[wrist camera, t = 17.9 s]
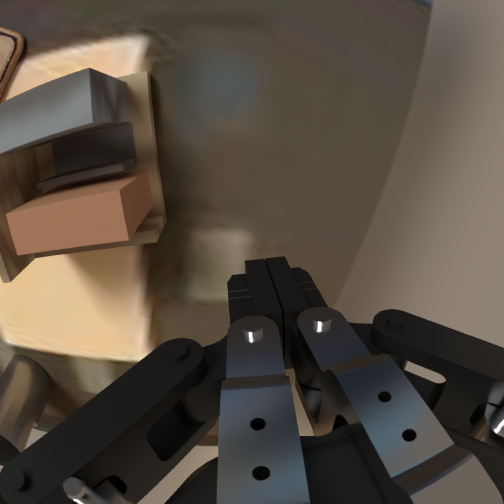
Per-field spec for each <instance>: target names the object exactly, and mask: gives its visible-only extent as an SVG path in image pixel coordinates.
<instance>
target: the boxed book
mask: <svg viewBox="0 0 504 504" xmlns="http://www.w3.org/2000/svg"><path fill="white" fill-rule="evenodd" d="M152 207H153V201H152V194H151V187H150V181H149V173H148V170H144V171H137V172H131V173H126V174H120V175H114V176H109V177H104V178H99V179H94V180H89V181H84V182H79V183H75V184H70V185H66V186H61V187H57V188H54V189H52V190H50V191H48V192H46V193H44V194H42V195H40V196H38V197H36V198H34V199H32V200H31V201H29V202H27V203H25V204H23V205H21V206H20V207H18V208H16V209H14V210H13V211H11V212H9V213H7V214H6V217H7V221H8V225H9V228H10V232H11V235H12V239H13V242H14V246H15V249H16V252H17V255H24V254H31V253H38V252H44V251H51V250H58V249H66V248H73V247H80V246H88V245H95V244H103V243H111V242H119V241H127V240H129V239H130V238H131V237H132V235H133V234H134V232H135V231H136V229H137V228H138V227H139V225H140V224H141V222H142V221H143V219H144V218H145V217H146V215H147V214H148V213H149V211H150V210H151V208H152Z"/></svg>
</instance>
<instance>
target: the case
mask: <svg viewBox="0 0 504 504" xmlns="http://www.w3.org/2000/svg"><path fill="white" fill-rule="evenodd" d="M23 49H24V38H23V36H22V35H21V34H20V33H18V32H16V31H13V30H10V29H7V28H3V27H0V98H1V96H2V93H3V91H4V89H5V86H6V84H7V82H8V80H9V78H10V76H11V74H12V71H13V70H14V68H15V66H16V64H17V62H18V60H19V58H20V56H21V54H22V52H23Z"/></svg>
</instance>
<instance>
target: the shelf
mask: <svg viewBox="0 0 504 504" xmlns="http://www.w3.org/2000/svg"><path fill="white" fill-rule="evenodd" d="M144 170H148V173H149V181H150V187H151V194H152V201H153V207H152V208H151V210H150V211H149V213H148V214H147V215H146V217H145V218H144V219H143V221H142V222H141V224H140V225H139V227H138V228H137V229H136V231H135V232H134V234H133V235H132V237H131V238H130V239H129V240H127V241H119V242H111V243H103V244H95V245H88V246H80V247H73V248H66V249H58V250H51V251H44V252H38V253H31V254H24V255H17V252H16V249H15V246H14V242H13V239H12V235H11V232H10V228H9V225H8V221H7V217H6V214H7V213H9V212H11V211H13V210H14V209H16V208H18V207H20V206H21V205H23V204H25V203H27V202H29V201H31V200H32V199H34V198H36V197H38V196H40V195H42V194H44V193H46V192H48V191H50V190H52V189H54V188H57V187H61V186H66V185H70V184H75V183H79V182H84V181H89V180H94V179H99V178H104V177H109V176H114V175H120V174H126V173H131V172H137V171H144ZM166 222H167V217H166V211H165V205H164V198H163V191H162V184H161V177H160V170H159V162H158V154H157V146H156V137H155V127H154V117H153V106H152V94H151V80H150V73H149V72H147V71H145V72H140V73H136V74H131V75H127V76H122V77H118V78H114V77H112V76H109V75H107V74H104V73H101V72H99V71H96V70H94V69H91V68H87V69H84V70H81V71H78V72H75V73H72V74H69V75H66V76H63V77H60V78H58V79H55V80H52V81H50V82H47V83H45V84H42V85H40V86H37V87H35V88H33V89H30V90H28V91H26V92H23V93H21V94H19V95H17V96H15V97H13V98H11V99H8V100H6V101H4V102H2V103H0V276H1V278H2V281H3V283H7V282H11V281H12V280H13V279H14V278H15V277H16V276H17V275H18V274H19V273H20V272H21V271H22V270H24V269H25V268H26V267H27V266H28V265H29V264H30V263H31V262H32V261H33V260H34V259H35V258H39V257H46V256H53V255H61V254H68V253H75V252H83V251H90V250H98V249H106V248H114V247H122V246H130V245H138V244H146V243H155V242H157V241H158V239H159V237H160V235H161V233H162V230H163V228H164V226H165V224H166Z"/></svg>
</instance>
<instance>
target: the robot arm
mask: <svg viewBox="0 0 504 504" xmlns="http://www.w3.org/2000/svg"><path fill="white" fill-rule="evenodd" d="M245 272H246V274H237V275H232V276H231V278H230V279H229V281H228V282H227V287H228V300H229V312H230V324H231V325H230V327H229V329H228V334H227V335H226V336H225V337H224V338H223V339H221V340H220V341H218V342H216V343H214V344H211V345H208V346H205V347H202V346H201V345H200V344H199V343H198V342H196V341H194V340H192V339H187V338H177V339H172V340H169V341H166V342H165V343H163V344H161V345H160V346H158V347H157V348H156V349H155V350H153V351H152V352H151V353H150V354H148V355H147V356H146V357H145V358H143V359H142V360H141V361H140V362H138V363H137V364H136V365H134V366H133V367H132V368H131V369H129V370H128V371H127V372H126V373H124V374H123V375H122V376H120V377H119V378H118V379H117V380H115V381H114V382H113V383H111V384H110V385H109V386H108V387H106V388H105V389H104V390H103V391H101V392H100V393H99V394H97V395H96V396H95V397H93V398H92V399H91V400H90V401H88V402H87V403H86V404H84V405H83V406H82V407H81V408H79V409H78V410H77V411H75V412H74V413H73V414H71V415H70V416H69V417H68V418H66V419H65V420H64V421H62V422H61V423H60V424H58V425H57V426H56V427H54V428H53V429H52V430H50V431H49V432H48V433H47V434H45V435H44V436H43V437H41V438H40V439H39V440H37V441H36V442H35V443H33V444H32V445H31V446H29V447H28V448H27V449H25V447H26V444H27V441H28V438H29V435H30V433H31V430H32V428H33V427H37V426H38V423H39V421H40V418H41V416H42V413H43V411H44V408H45V406H46V403H47V401H48V399H49V396H50V394H51V392H52V390H51V388H50V379H49V377H48V375H47V374H46V373H45V371H44V370H43V369H42V368H41V367H40V366H39V365H38V364H36V363H35V362H34V361H32V360H31V359H29V358H27V357H24V356H20V355H19V356H14V357H13V358H12V360H11V361H10V363H9V364H8V366H7V368H6V369H5V371H4V373H3V374H2V376H1V378H0V465H2V466H4V467H3V468H2V470H1V472H0V504H137V503H138V502H139V501H140V500H141V499H142V498H143V497H144V496H146V495H147V494H148V493H149V492H150V491H151V490H152V489H153V488H154V487H155V486H156V485H157V484H158V483H159V482H160V481H161V480H162V479H163V478H164V477H165V476H166V475H167V474H168V473H169V472H170V471H171V470H172V469H173V468H174V467H175V466H176V465H177V464H178V463H179V462H180V461H181V460H182V459H183V458H184V457H185V456H186V455H187V454H188V453H189V452H190V451H191V450H192V449H193V447H194V446H195V445H196V444H197V443H198V442H199V441H200V440H201V439H202V438H203V437H204V436H205V435H206V434H207V432H208V431H209V430H210V429H211V428H212V427H213V426H214V425H215V423H216V422H217V420H218V417H219V416H220V422H219V445H218V457H216V458H214V459H212V460H210V461H208V462H207V463H205V464H204V465H202V466H201V467H199V468H198V469H197V470H196V471H194V472H193V473H192V474H191V475H190V476H189V477H188V478H187V479H186V480H185V481H184V483H183V484H182V485H181V486H180V487H179V488H178V489H177V491H176V492H175V493H174V494H173V495H172V496H171V497H170V498H169V499H168V500H167V501H166V503H164V504H504V348H503V347H500V346H497V345H494V344H492V343H489V342H486V341H484V340H481V339H478V338H475V337H473V336H470V335H467V334H464V333H462V332H459V331H456V330H454V329H451V328H448V327H445V326H443V325H440V324H437V323H434V322H432V321H429V320H426V319H424V318H421V317H418V316H415V315H412V314H410V313H407V312H404V311H401V310H395V309H389V310H384V311H381V312H379V313H377V315H375V317H374V319H373V324H362V323H361V324H360V323H350V322H348V321H347V320H346V319H345V318H344V316H343V315H342V314H341V313H340V312H338V311H337V310H335V309H332V308H328V306H327V304H326V302H325V301H324V299H323V297H322V295H321V294H320V292H319V290H318V288H317V287H316V285H315V283H314V282H313V280H312V278H311V276H310V274H309V273H308V272H306V271H305V270H303V269H302V268H300V267H298V268H290V266H289V264H288V262H287V260H286V258H285V257H284V256H283V257H274V258H265V260H264V259H256V260H247V261H245ZM407 361H410V362H412V363H415V364H417V365H419V366H422V367H424V368H427V369H429V370H432V371H434V372H437V373H439V374H441V375H442V376H444V378H445V379H446V381H445V382H444V383H434V382H432V381H430V380H427V379H425V378H422V377H420V376H418V375H415V374H413V373H411V372H408V371H406V370H404V369H405V367H406V364H407ZM291 368H294V371H295V387H296V390H297V392H298V395H299V397H300V400H301V402H302V405H303V407H304V409H305V412H306V414H307V417H308V419H309V422H310V424H311V426H312V430H313V433H314V436H299V430H298V424H297V418H296V412H295V406H294V400H293V394H292V388H291V383H290V379H289V376H286V372H285V369H291Z"/></svg>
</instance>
